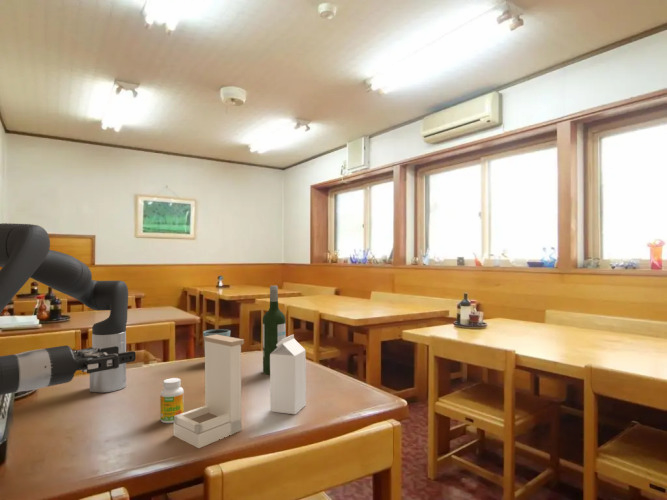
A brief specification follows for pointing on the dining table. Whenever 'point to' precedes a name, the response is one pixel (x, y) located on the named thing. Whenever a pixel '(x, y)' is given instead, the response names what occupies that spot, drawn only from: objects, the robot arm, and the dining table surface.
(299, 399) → the milk carton
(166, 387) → the supplement bottle
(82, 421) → the dining table surface
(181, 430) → the white feeder tower
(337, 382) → the dining table surface
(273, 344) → the wine bottle
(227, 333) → the drinking glass
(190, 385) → the dining table surface
